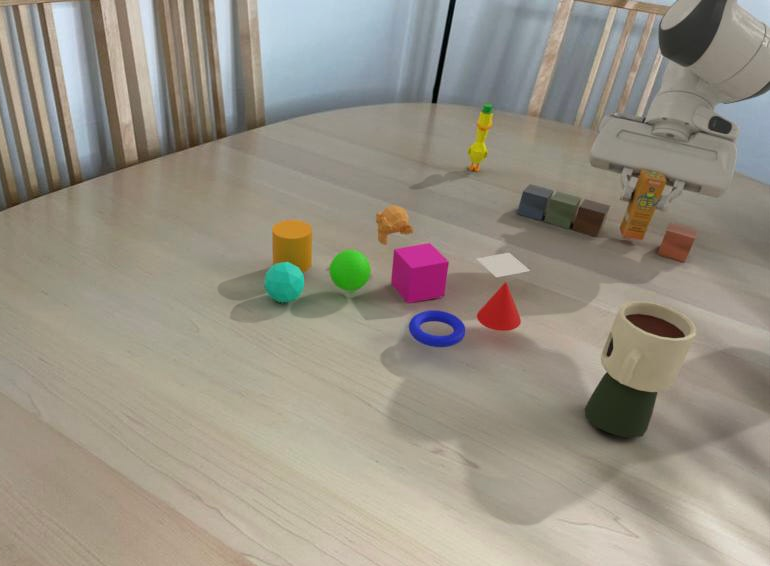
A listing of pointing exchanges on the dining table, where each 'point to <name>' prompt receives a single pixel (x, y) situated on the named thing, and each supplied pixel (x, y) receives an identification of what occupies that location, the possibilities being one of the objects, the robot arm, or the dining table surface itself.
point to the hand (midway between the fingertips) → (642, 204)
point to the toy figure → (481, 138)
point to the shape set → (409, 275)
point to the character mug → (638, 366)
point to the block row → (594, 218)
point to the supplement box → (642, 204)
